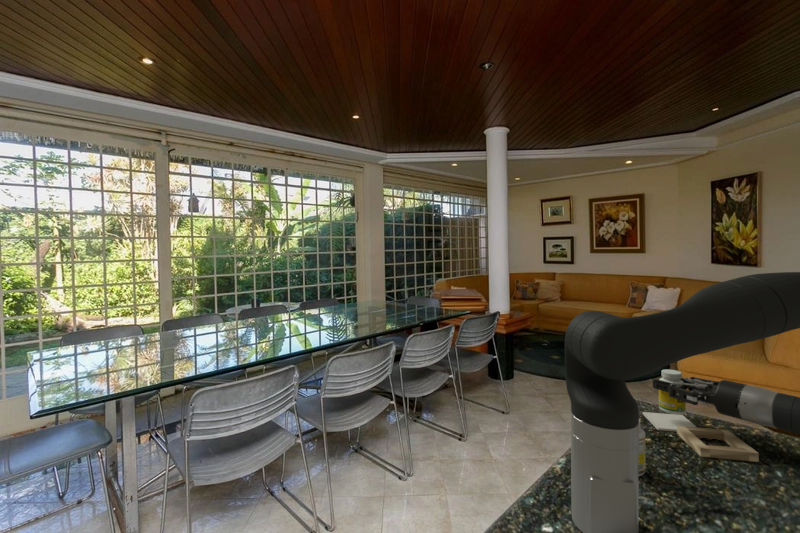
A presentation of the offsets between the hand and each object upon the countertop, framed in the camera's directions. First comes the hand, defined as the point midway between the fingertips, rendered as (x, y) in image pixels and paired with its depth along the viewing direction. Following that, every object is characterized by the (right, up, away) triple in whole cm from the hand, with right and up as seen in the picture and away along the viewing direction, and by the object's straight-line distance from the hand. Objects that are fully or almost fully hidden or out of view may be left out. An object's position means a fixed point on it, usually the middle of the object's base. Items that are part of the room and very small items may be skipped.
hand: (660, 381), depth 93 cm
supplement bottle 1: (-21, -11, -21) cm, 31 cm away
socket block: (+3, -10, -13) cm, 17 cm away
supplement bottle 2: (+1, -7, -2) cm, 7 cm away
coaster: (+1, -10, -2) cm, 10 cm away
